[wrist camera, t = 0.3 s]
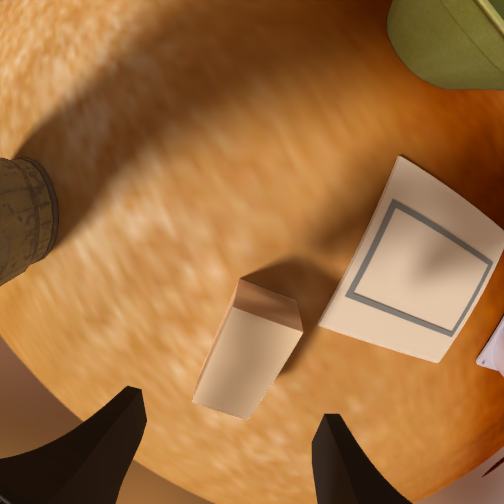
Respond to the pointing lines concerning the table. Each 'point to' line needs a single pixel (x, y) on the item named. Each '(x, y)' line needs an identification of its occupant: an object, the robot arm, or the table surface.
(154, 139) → the table surface
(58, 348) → the table surface
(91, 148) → the table surface
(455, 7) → the plant pot
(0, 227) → the thermos
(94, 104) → the table surface
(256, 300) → the tall beige pillar block
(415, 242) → the mat
